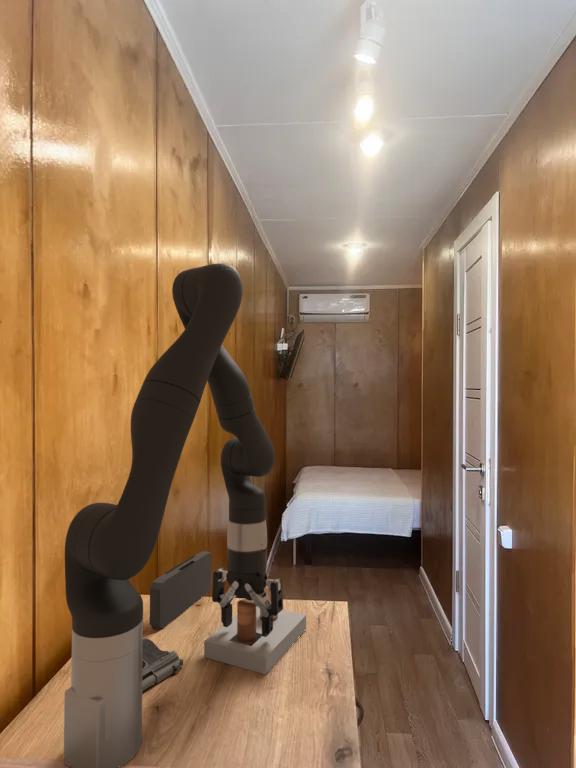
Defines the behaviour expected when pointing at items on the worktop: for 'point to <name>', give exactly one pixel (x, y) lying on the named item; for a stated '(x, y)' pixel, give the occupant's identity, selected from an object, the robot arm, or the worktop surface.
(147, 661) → the handgun
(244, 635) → the cherry peg
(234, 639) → the jig board
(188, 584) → the handheld gaming console
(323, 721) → the worktop surface
